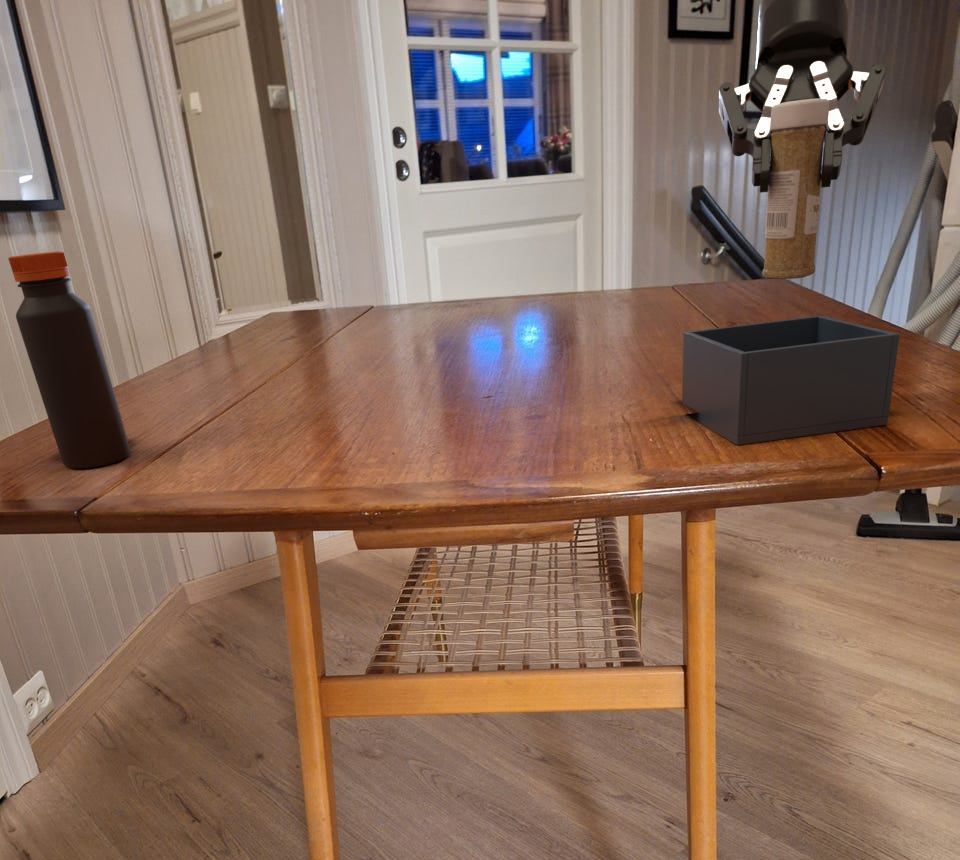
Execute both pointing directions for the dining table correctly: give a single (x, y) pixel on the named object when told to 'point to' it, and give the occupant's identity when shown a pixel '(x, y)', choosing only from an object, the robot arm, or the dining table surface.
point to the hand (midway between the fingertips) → (795, 181)
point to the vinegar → (68, 363)
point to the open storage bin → (788, 378)
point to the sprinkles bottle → (794, 187)
